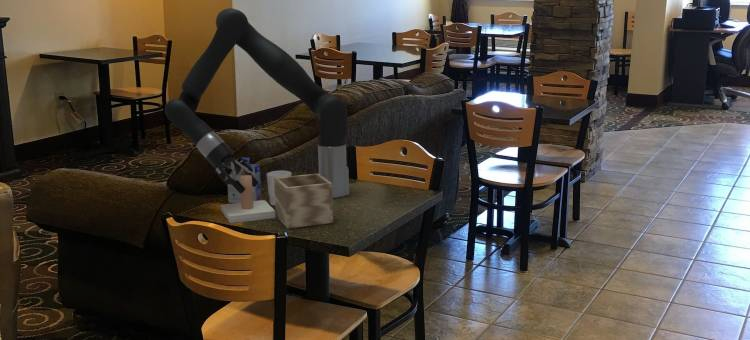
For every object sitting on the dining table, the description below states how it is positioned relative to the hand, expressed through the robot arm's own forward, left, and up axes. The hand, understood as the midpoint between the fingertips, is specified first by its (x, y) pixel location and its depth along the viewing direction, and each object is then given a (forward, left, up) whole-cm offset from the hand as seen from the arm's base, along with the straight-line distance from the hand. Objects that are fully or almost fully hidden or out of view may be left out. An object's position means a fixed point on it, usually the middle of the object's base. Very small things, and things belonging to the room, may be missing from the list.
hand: (250, 188), depth 248 cm
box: (-14, +11, -9) cm, 20 cm away
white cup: (-12, -10, -9) cm, 18 cm away
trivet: (+1, -1, -9) cm, 9 cm away
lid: (+1, -1, -8) cm, 8 cm away
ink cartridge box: (-2, -17, -9) cm, 19 cm away
